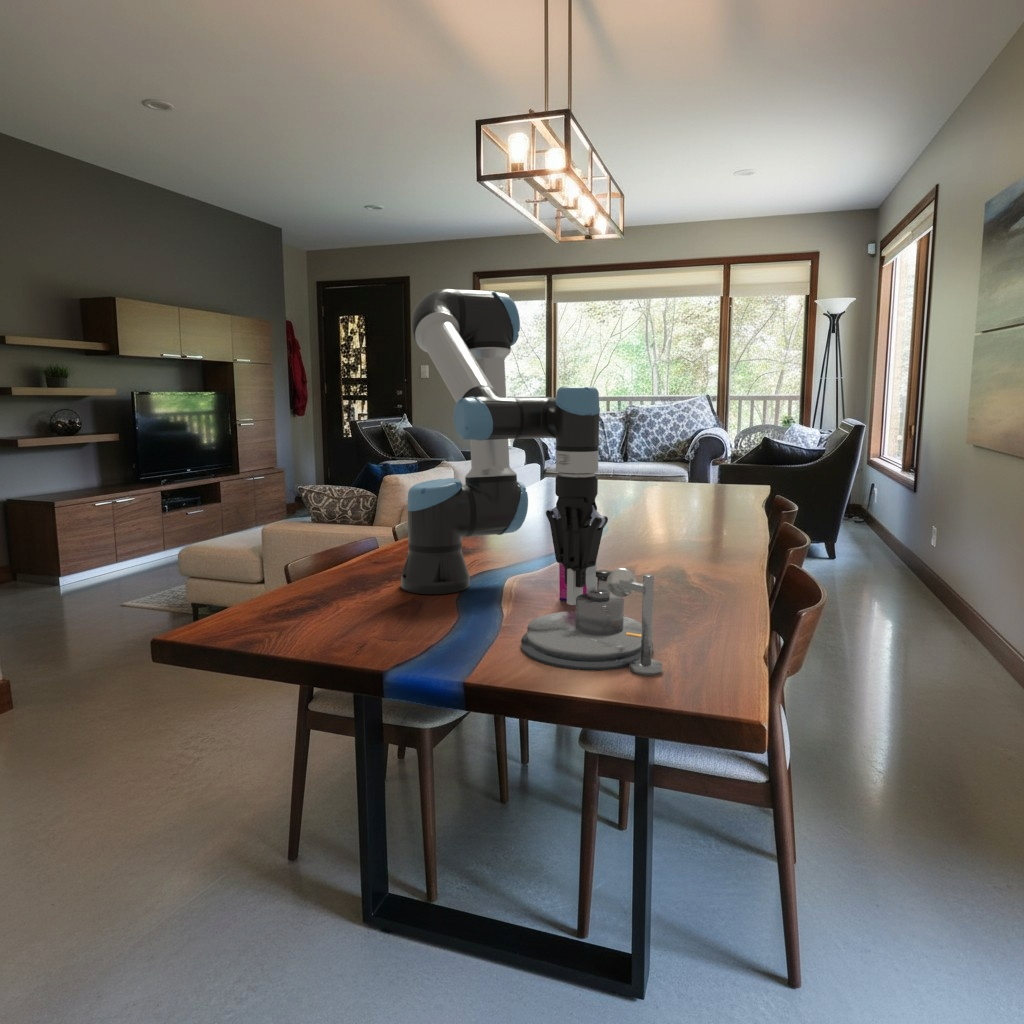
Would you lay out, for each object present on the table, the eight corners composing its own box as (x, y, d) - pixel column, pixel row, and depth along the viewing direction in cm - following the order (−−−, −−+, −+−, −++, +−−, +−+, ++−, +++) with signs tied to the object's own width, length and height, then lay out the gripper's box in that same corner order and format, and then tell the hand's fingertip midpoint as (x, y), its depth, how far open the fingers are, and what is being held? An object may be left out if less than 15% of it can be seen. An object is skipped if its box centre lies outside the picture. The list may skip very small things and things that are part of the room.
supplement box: (573, 594, 160) (574, 541, 159) (597, 598, 157) (598, 545, 155) (557, 599, 156) (558, 545, 154) (581, 604, 152) (582, 549, 151)
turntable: (507, 648, 123) (507, 590, 121) (554, 616, 140) (555, 564, 139) (625, 668, 114) (627, 605, 112) (660, 631, 132) (662, 576, 130)
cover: (568, 631, 125) (568, 595, 124) (585, 618, 132) (585, 584, 131) (614, 638, 122) (615, 600, 121) (629, 624, 129) (630, 589, 128)
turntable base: (498, 657, 122) (498, 650, 122) (551, 620, 142) (551, 615, 142) (629, 679, 113) (629, 672, 113) (667, 637, 132) (667, 631, 132)
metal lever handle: (597, 668, 118) (599, 573, 115) (607, 658, 122) (609, 566, 120) (657, 678, 113) (660, 579, 111) (665, 667, 118) (669, 572, 115)
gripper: (535, 473, 136) (534, 600, 140) (591, 479, 127) (588, 614, 130) (563, 470, 141) (562, 592, 145) (619, 475, 132) (615, 606, 135)
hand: (574, 603), depth 137 cm, fingers closed
